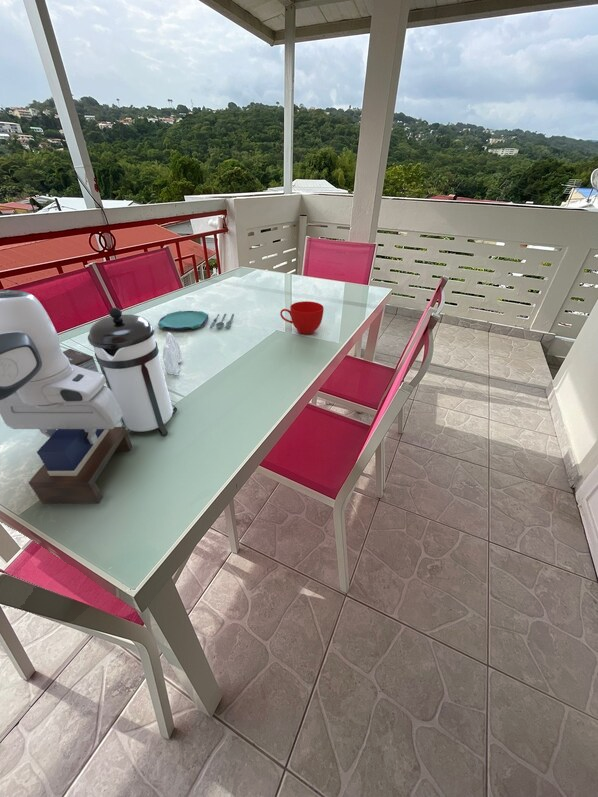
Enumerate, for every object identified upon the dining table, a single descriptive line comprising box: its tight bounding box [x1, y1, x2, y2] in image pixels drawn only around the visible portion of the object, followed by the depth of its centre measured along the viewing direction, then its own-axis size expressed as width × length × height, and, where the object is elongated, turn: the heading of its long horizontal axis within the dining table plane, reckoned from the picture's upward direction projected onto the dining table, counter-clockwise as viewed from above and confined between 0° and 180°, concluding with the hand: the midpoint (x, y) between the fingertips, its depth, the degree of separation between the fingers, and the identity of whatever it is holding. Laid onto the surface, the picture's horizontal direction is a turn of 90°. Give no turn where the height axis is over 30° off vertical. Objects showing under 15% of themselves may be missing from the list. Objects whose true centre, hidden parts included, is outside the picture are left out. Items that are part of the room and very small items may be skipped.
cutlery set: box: [157, 310, 235, 330], centre depth 138 cm, size 20×30×2 cm, turn 89°
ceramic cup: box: [279, 300, 325, 335], centre depth 130 cm, size 13×17×10 cm
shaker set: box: [162, 332, 183, 377], centre depth 105 cm, size 12×4×11 cm, turn 8°
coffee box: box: [62, 348, 100, 373], centre depth 84 cm, size 9×6×16 cm
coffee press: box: [87, 307, 178, 437], centre depth 77 cm, size 17×16×30 cm
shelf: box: [28, 426, 134, 504], centre depth 69 cm, size 11×16×6 cm
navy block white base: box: [36, 429, 109, 476], centre depth 65 cm, size 13×5×6 cm, turn 0°
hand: (76, 442), depth 65 cm, fingers closed on navy block white base, 5 cm apart
